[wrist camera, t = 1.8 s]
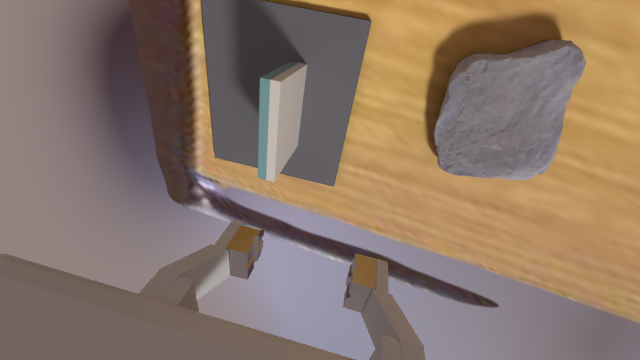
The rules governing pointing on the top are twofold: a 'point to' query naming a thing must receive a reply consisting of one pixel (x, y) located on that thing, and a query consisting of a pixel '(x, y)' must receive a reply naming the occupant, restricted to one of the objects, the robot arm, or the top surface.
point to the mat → (269, 54)
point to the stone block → (507, 111)
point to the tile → (279, 117)
